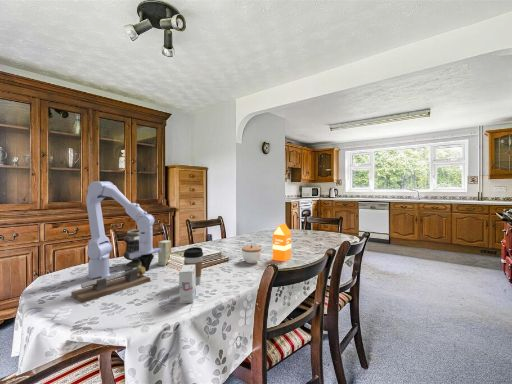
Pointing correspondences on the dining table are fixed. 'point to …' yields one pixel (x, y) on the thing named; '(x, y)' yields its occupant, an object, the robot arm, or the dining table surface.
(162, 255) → the skincare box
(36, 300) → the dining table surface
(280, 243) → the orange juice
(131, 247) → the apothecary jar
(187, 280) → the ink box
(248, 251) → the lidded jar
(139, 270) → the shaft
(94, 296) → the shaft frame
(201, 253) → the coffee cup
